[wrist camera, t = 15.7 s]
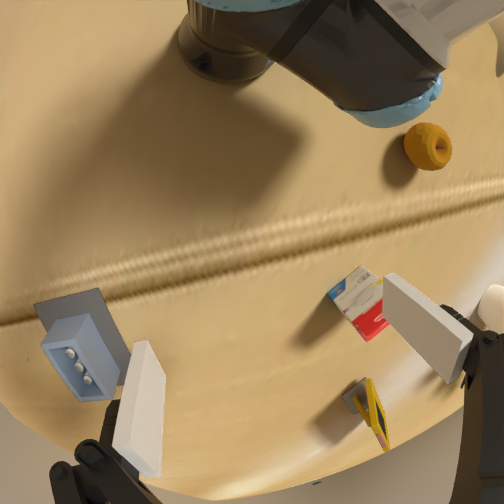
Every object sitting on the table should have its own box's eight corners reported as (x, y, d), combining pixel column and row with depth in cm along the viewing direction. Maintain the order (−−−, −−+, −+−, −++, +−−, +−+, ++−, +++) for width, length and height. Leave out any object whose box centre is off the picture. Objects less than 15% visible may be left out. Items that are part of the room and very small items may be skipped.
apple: (403, 175, 46) (435, 183, 38) (386, 132, 43) (419, 132, 35) (431, 157, 46) (463, 162, 38) (417, 116, 43) (449, 115, 34)
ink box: (337, 308, 53) (375, 355, 39) (325, 292, 51) (364, 338, 38) (372, 280, 52) (416, 319, 39) (361, 262, 51) (408, 300, 37)
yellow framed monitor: (379, 404, 68) (404, 442, 54) (355, 418, 69) (377, 458, 54) (364, 368, 61) (395, 414, 46) (335, 386, 61) (362, 435, 47)
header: (33, 304, 42) (17, 323, 36) (98, 287, 44) (85, 307, 37) (83, 388, 50) (76, 410, 44) (145, 380, 52) (142, 405, 45)
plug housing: (56, 320, 44) (40, 344, 36) (88, 312, 44) (74, 338, 37) (88, 374, 49) (79, 401, 42) (120, 370, 50) (113, 399, 42)
